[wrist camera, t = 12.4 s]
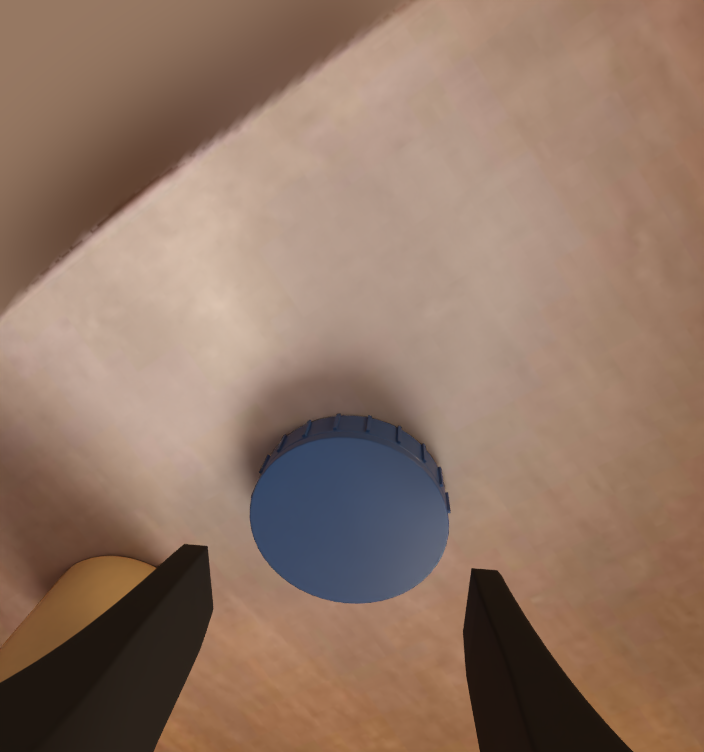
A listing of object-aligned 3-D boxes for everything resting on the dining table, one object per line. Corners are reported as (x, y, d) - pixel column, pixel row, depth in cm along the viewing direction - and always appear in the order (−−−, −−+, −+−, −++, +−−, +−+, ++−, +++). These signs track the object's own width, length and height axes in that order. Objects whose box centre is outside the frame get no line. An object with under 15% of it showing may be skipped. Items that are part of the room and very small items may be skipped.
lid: (438, 579, 17) (441, 613, 16) (263, 564, 18) (252, 595, 17) (455, 419, 15) (460, 442, 14) (256, 406, 16) (242, 428, 14)
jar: (29, 611, 20) (-205, 884, 12) (104, 527, 18) (-116, 786, 10) (148, 691, 21) (0, 989, 13) (231, 619, 19) (114, 916, 11)
